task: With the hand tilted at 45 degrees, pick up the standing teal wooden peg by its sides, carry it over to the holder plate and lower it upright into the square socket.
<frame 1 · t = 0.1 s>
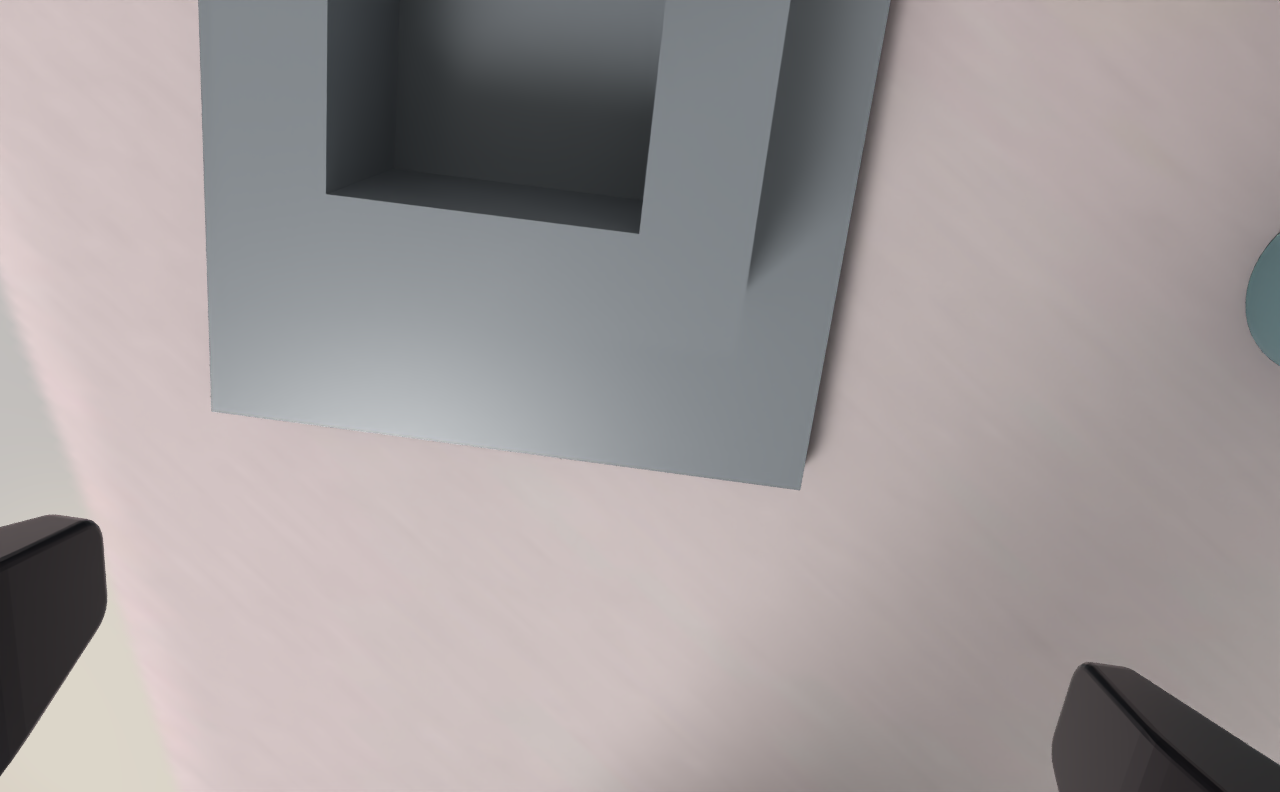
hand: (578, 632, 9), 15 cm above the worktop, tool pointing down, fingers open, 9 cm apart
socket holder: (541, 47, 21), on the worktop
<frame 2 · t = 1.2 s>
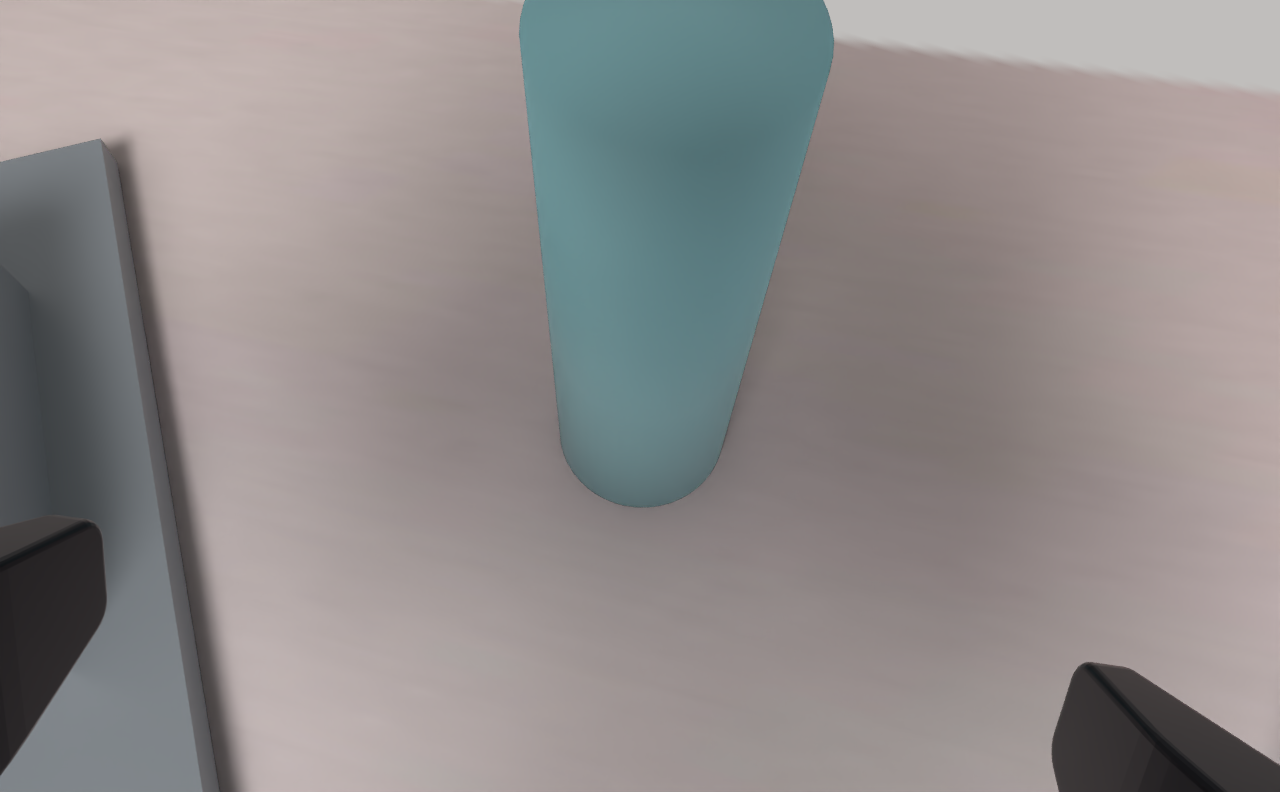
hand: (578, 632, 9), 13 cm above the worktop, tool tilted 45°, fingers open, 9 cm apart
peg: (641, 429, 24), on the worktop
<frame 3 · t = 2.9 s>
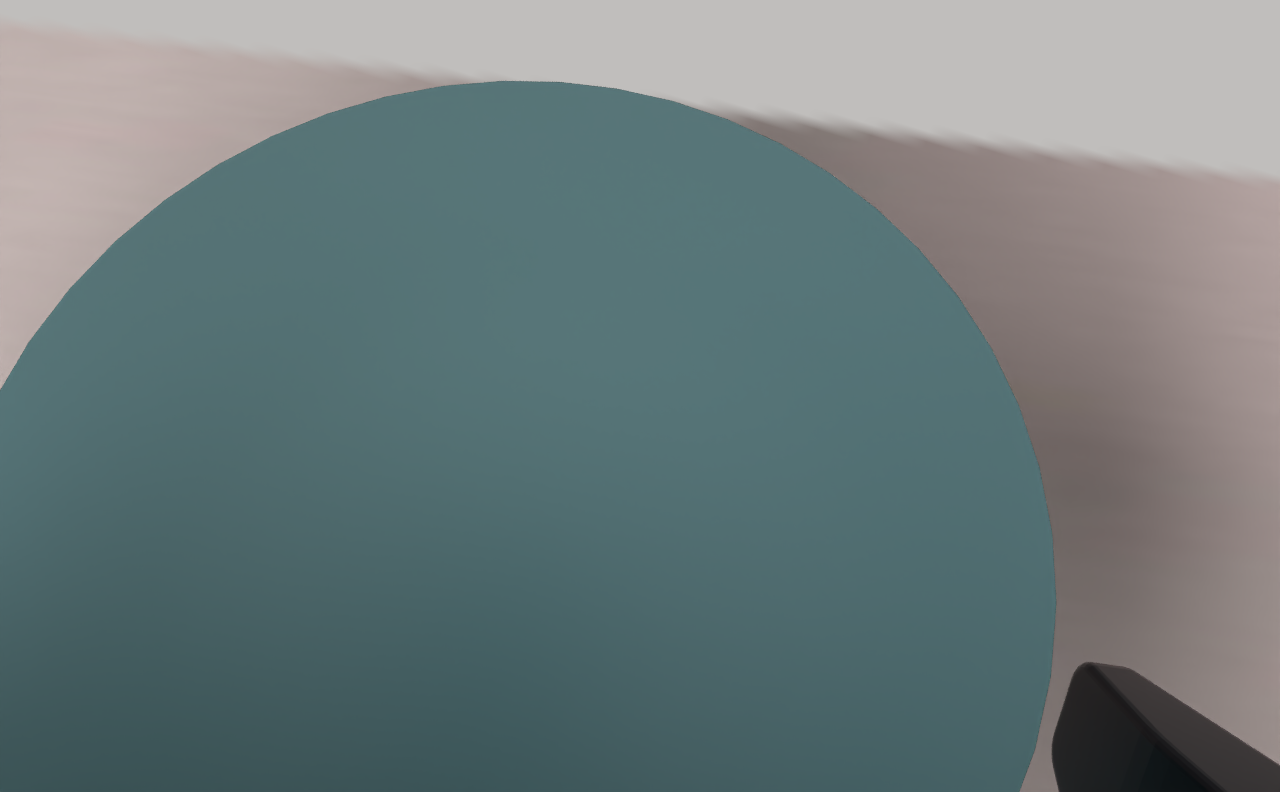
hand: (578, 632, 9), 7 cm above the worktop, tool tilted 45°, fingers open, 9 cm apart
peg: (580, 780, 15), on the worktop
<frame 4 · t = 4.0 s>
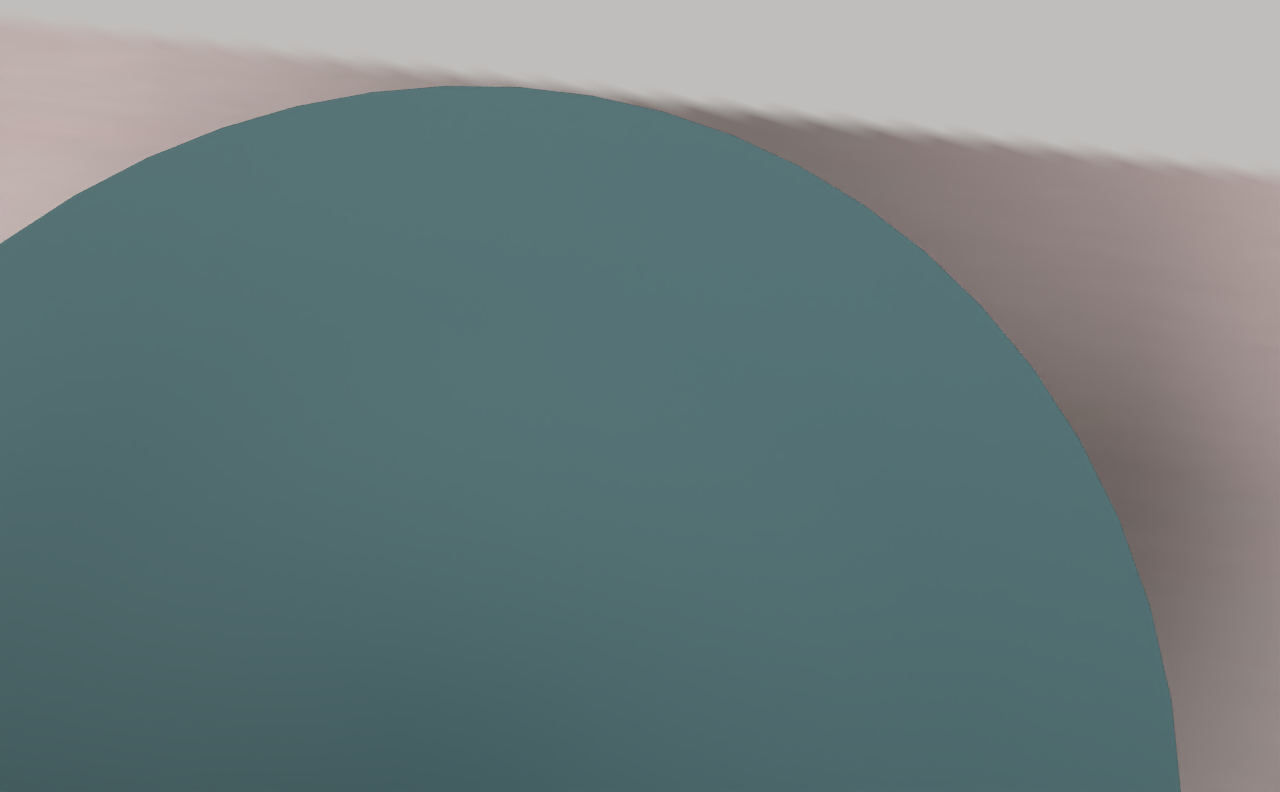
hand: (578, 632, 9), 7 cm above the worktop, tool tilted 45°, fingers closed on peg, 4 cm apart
when the fingers open (8 cm above the worktop, at t = 8.8 s): peg stays where it is, resting on socket holder.
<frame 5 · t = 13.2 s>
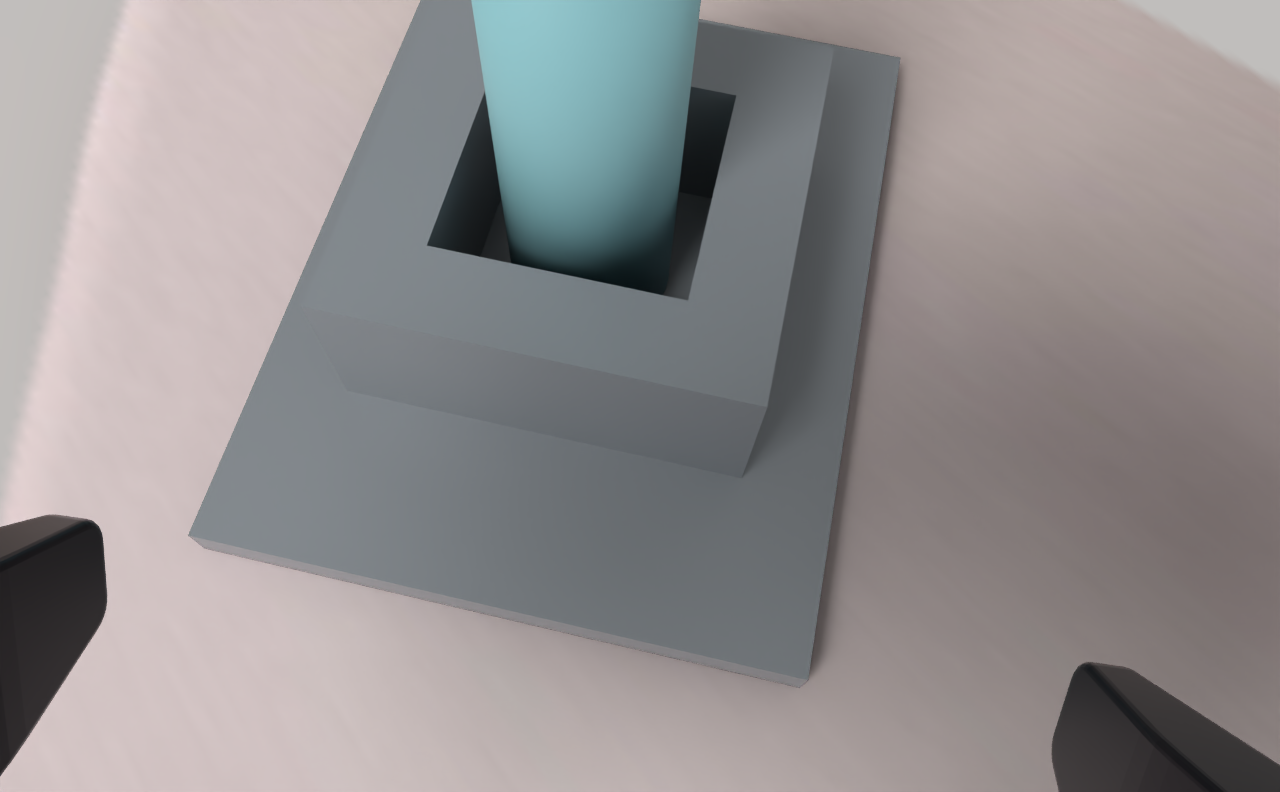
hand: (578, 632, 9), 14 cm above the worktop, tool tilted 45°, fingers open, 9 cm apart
peg: (591, 266, 26), point 1 cm above the worktop, touching socket holder
socket holder: (591, 285, 26), on the worktop
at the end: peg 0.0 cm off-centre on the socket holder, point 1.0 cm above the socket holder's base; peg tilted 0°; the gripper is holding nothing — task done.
